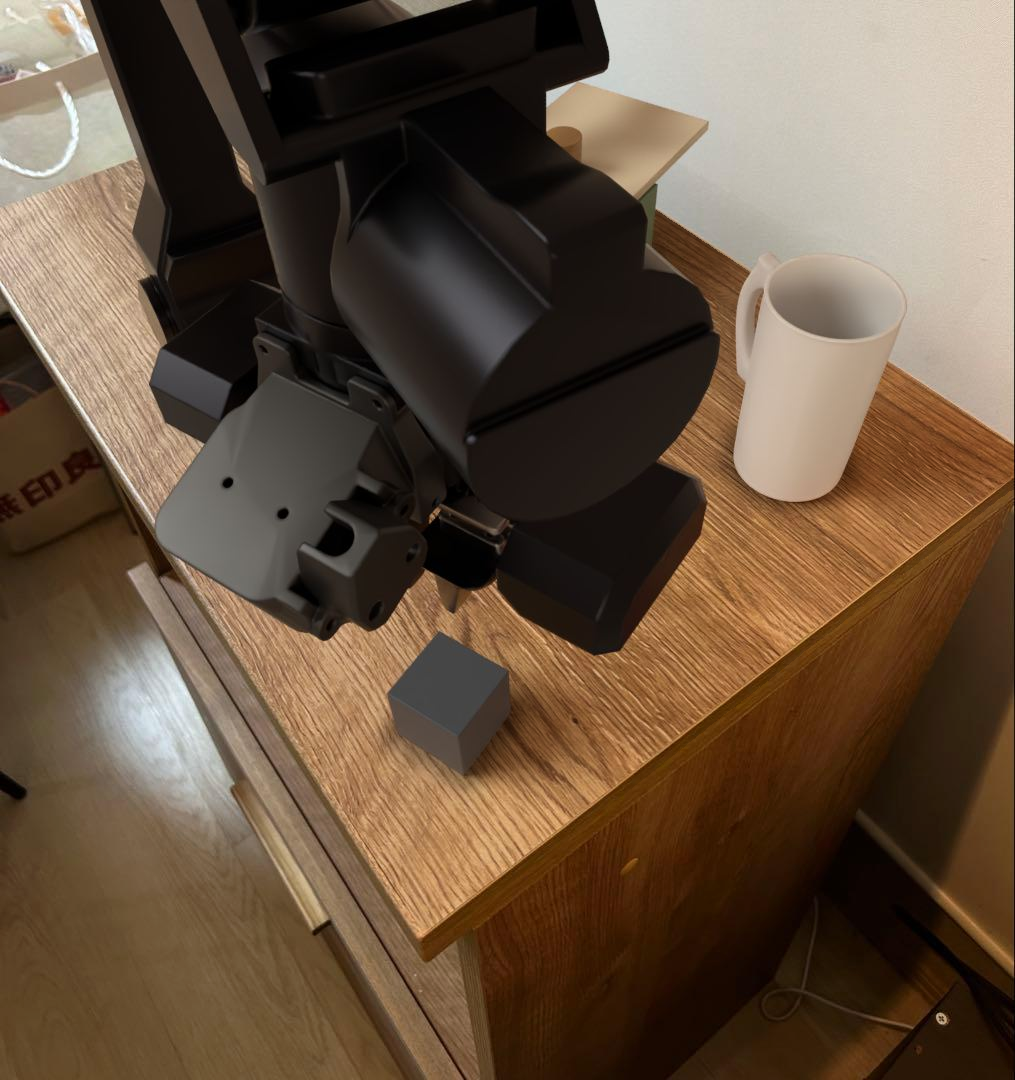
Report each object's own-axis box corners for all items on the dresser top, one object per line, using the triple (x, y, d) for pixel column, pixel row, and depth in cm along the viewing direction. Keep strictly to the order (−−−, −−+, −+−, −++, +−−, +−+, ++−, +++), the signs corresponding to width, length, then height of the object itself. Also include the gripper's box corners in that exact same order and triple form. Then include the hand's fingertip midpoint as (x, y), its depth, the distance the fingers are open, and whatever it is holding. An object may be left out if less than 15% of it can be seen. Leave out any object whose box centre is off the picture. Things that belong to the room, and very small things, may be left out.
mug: (871, 482, 56) (937, 315, 46) (771, 523, 54) (819, 359, 45) (769, 374, 62) (810, 206, 52) (677, 408, 60) (702, 241, 50)
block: (396, 733, 47) (385, 693, 44) (445, 672, 49) (438, 629, 46) (464, 776, 46) (458, 737, 42) (511, 712, 48) (509, 670, 44)
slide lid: (483, 168, 66) (481, 123, 63) (577, 90, 72) (578, 46, 69) (621, 217, 62) (624, 171, 59) (708, 130, 68) (714, 85, 65)
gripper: (-85, 307, 26) (119, 628, 38) (502, 634, 19) (519, 896, 31) (214, 116, 31) (308, 450, 44) (752, 316, 25) (683, 645, 37)
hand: (435, 591), depth 39 cm, fingers closed
